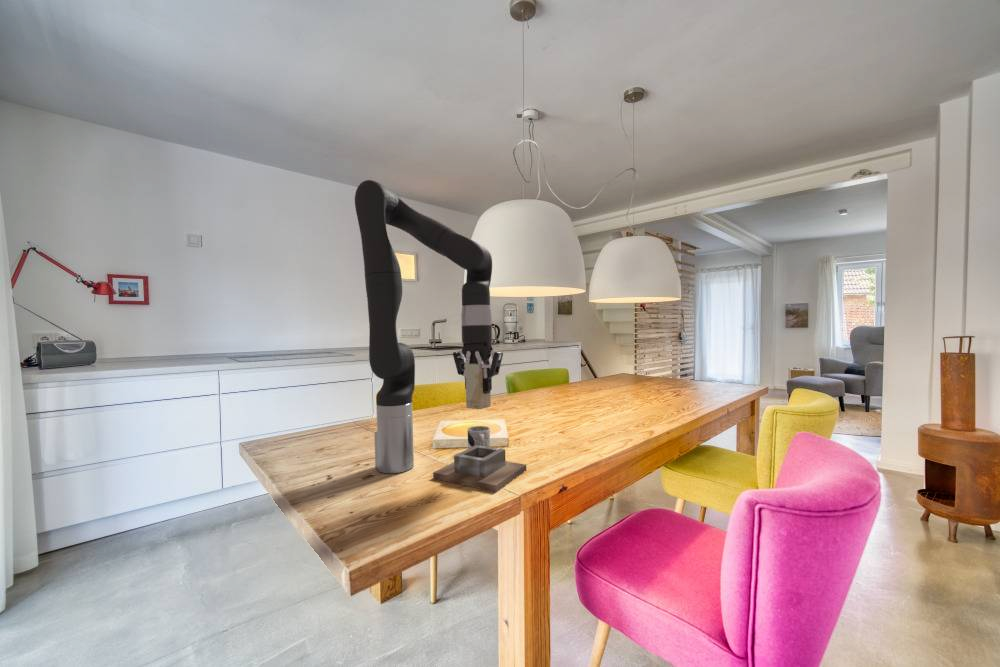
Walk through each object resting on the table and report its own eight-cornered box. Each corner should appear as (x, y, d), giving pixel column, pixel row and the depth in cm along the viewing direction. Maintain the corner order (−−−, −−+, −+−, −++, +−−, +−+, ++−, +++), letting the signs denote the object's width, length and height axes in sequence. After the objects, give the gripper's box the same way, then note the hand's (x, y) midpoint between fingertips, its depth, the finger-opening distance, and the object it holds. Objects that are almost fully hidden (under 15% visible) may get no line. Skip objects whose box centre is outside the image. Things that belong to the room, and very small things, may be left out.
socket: (433, 478, 95) (432, 456, 95) (468, 460, 108) (467, 440, 108) (496, 492, 86) (495, 467, 86) (526, 470, 99) (525, 448, 99)
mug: (466, 448, 119) (466, 427, 119) (487, 446, 121) (487, 425, 121) (471, 458, 109) (471, 435, 109) (494, 456, 111) (494, 433, 111)
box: (479, 410, 94) (478, 364, 94) (465, 408, 96) (464, 363, 96) (491, 406, 98) (490, 362, 98) (477, 404, 100) (476, 362, 100)
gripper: (508, 323, 97) (510, 392, 97) (462, 325, 104) (463, 389, 104) (493, 323, 90) (495, 396, 90) (444, 324, 97) (446, 393, 97)
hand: (478, 392), depth 97 cm, fingers closed on box, 4 cm apart
